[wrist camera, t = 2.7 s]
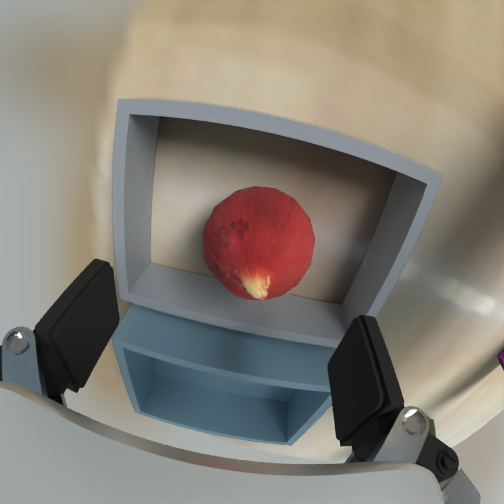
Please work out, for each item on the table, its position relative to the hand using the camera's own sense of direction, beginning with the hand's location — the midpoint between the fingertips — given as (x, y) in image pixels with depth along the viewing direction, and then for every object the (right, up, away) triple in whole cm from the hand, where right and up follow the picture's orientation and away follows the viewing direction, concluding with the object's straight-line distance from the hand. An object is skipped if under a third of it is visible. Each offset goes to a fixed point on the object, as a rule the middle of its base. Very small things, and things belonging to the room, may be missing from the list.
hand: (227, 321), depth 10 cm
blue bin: (-1, -8, +15) cm, 17 cm away
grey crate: (+2, +5, +8) cm, 9 cm away
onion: (+2, +5, +8) cm, 10 cm away
